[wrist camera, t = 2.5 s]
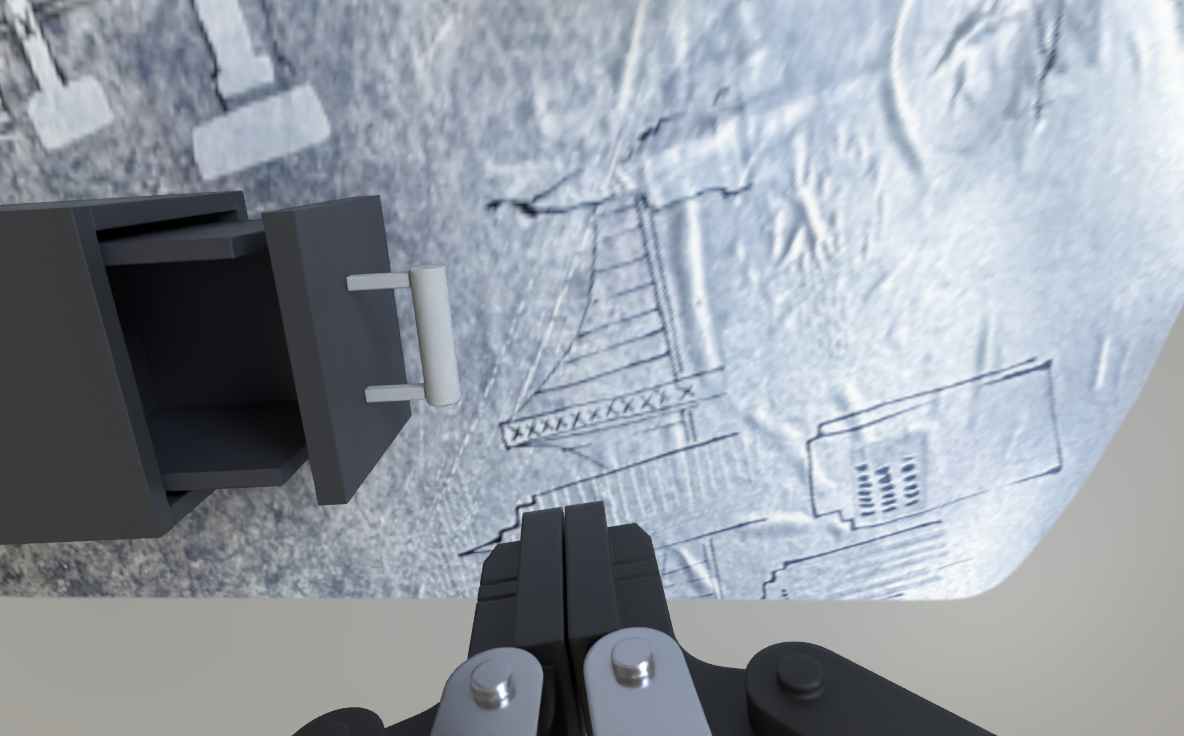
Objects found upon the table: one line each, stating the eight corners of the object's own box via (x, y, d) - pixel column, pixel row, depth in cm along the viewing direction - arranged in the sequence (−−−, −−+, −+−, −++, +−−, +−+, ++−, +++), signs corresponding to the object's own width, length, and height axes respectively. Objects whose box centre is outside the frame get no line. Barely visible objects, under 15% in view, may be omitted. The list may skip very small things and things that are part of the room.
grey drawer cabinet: (243, 190, 35) (70, 207, 23) (290, 425, 38) (161, 538, 27) (-42, 207, 35) (-346, 232, 24) (33, 438, 39) (-200, 554, 28)
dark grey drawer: (464, 190, 34) (410, 203, 24) (488, 411, 37) (449, 499, 28) (109, 211, 34) (-80, 232, 25) (165, 427, 38) (18, 519, 28)
